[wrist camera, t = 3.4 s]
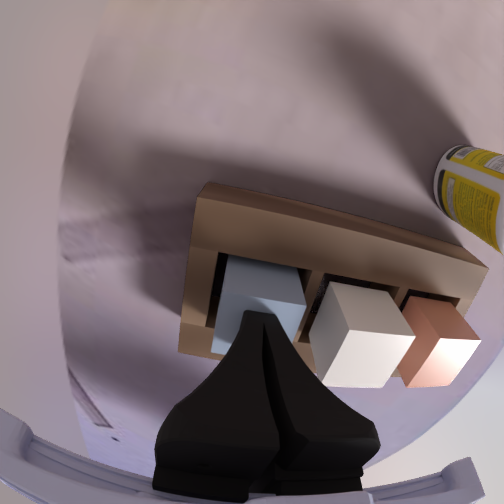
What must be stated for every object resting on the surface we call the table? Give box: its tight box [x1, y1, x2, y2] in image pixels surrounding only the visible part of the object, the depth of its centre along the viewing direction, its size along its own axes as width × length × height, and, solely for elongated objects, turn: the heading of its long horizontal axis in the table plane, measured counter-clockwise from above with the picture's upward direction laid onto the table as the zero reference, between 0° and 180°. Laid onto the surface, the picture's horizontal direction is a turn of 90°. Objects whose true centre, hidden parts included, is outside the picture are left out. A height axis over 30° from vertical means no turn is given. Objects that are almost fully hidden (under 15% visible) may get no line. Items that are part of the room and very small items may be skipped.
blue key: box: [211, 254, 307, 355], centre depth 14 cm, size 3×3×4 cm
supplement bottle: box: [433, 145, 504, 255], centre depth 11 cm, size 5×5×8 cm
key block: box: [178, 182, 489, 377], centre depth 16 cm, size 9×17×3 cm, turn 78°
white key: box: [309, 281, 416, 388], centre depth 13 cm, size 3×3×4 cm
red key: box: [397, 296, 481, 388], centre depth 14 cm, size 3×3×4 cm
